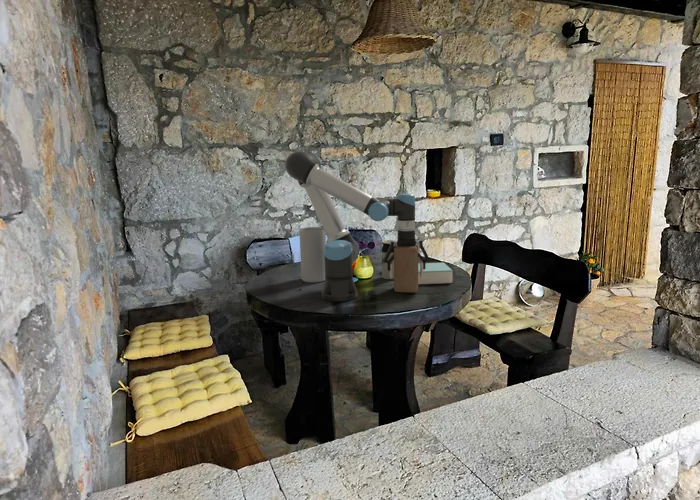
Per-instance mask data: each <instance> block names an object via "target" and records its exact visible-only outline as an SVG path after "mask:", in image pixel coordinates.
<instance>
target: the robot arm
mask: <svg viewBox="0 0 700 500" xmlns="http://www.w3.org/2000/svg"><path fill="white" fill-rule="evenodd" d="M285 159H286V160H285V164H284V165H285V166H284V167H285V171H286V172H287V174H288V175H289V177H291V178H292V179H294V180H297V183H298V185H299V186H300V188H303V189H304V190H305V191H306V194H307V197H308V198H309V200H310V203H311V205H312V207H313V209H314V211H315V213H316V216H317V218H318V220H319V223H320V224H321V226H322V228H323V229H324V231H325V233H326V245H325V247H324V259H325V281H323V286H322V289H321V298H322V299H323V300H324V301H327V302H338V303H339V302H340V303H341V302H347V301H348V302H349V301H353V300H355V299H356V298H357V297H358V289H357V287H356V284H355V282H354V279H353V278H354V277H353V264H354V263H355V262H356V261H357V260H358V259H359V258H358V257H359V254H360V246H359V243H358V241H356V240H355V239H354V238H353V236H352V234H351V232H350V231H348V230H347V229H345V227H344V225H343V222H342V220H341V217H340V216H339V213H338V211H337V208H336V207H335V205H334V203H333V201H332V198H331V196H332V197H334V198H336V199H337V200H340V201H341V202H343V203H345V204H347V205H349V206H350V207H352V208H354V209H356V210H357V211H360V212H361V213H363V214H365V215H367V216H368V217H370V219H371V220H372V221H374V222H382V221H384V220H385V219H386V218H388V217H397V229H398V230H397V240H395V241H397V242H395V241H391V242H390V247H389V249H388V251H387V253H386V255H385V257H384V259H383V261H384V263H387V269H388V271H390V278H391V279H390V280H393V279H392V263H391V262H392V261H393V260H394V253H393V254H392V256H391V257H390V258H389V256H390V254H391V252H392V249H393V247H394V246H395V245H396V244H397V245H398V246H401V247H405V246H415V245H416V244H417V245H418V247H419V249H420V250H421V253H422V254H423V255H421V254H420V253H419V251H418V259H419V260H421V261H419V264H420V276H421V277H423V269H425V263H428V262H430V260H431V259H430V257H429V255H428V253H427V250H426V249H425V246H424V244H423V240H421V239H419V240H416V231H415V229H416V200H415V199H416V197H415V195H414V194H413V193H399V194H398V195H397V197H396V198H376V197H374V196H372V195H370V194H369V193H366V192H364V191H363V190H361V189H359V188H357V187H355V186H353V185H352V184H350V183H348V182H347V181H344V180H342V179H341V178H338V177H337V176H335V175H333V174H331V173H330V172H328V171H326V170H324V169H322V163H321V159H320V158H319V157H318V156H317V155H316V154H315V153H313V152H311V151H308V150H304V151H300V150H298V151H294V152H292V153H290V154H289V155H288V156H287V157H286V158H285ZM423 256H424V257H423ZM388 258H389V259H388Z"/></svg>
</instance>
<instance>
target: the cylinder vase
mask: <svg viewBox="0 0 700 500" xmlns="http://www.w3.org/2000/svg"><path fill="white" fill-rule="evenodd" d="M298 233H299V249H300V251H299V252H300V253H299V254H300V270H301V272H300V273H301V274H300V275H301V281H302V282H304V283H313V284H314V283H321V282H325V259H324V247H325V245H326V244H327V243H326V241H327V235H326V233H325V231H324V229H323V227H320V226H313V227H312V226H310V227H308V226H307V227H301V228H300V229H299V231H298Z"/></svg>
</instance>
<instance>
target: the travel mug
mask: <svg viewBox="0 0 700 500" xmlns="http://www.w3.org/2000/svg"><path fill="white" fill-rule="evenodd" d="M391 241H395V242H397V240H396V239H395V240H393V239H386V240H381V242H382V247H381V278H383V279H385V280H394V260H393V261H392V262H391V263H392V279H391V278H390V271H388V269H387V263H384V261H383V259H384V257H385V255H386V253H387V251H388V249H389V247H390V242H391ZM395 246H396V245H395ZM395 246H394V247H393V249H392V252H391V254H390V256H389V258H390V257H391V256H392V254H393V253H394V248H395ZM389 258H388V259H389Z"/></svg>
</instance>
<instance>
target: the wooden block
mask: <svg viewBox="0 0 700 500" xmlns="http://www.w3.org/2000/svg"><path fill="white" fill-rule="evenodd" d="M418 252H419V245H418V244H416V245H415V246H405V247H401V246H398V245H397V244H396V246H395V248H394V279H393V289H394V292H395V293H413V294H414V293H417V292H418V288H419V284H418V264H419V257H418Z"/></svg>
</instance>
